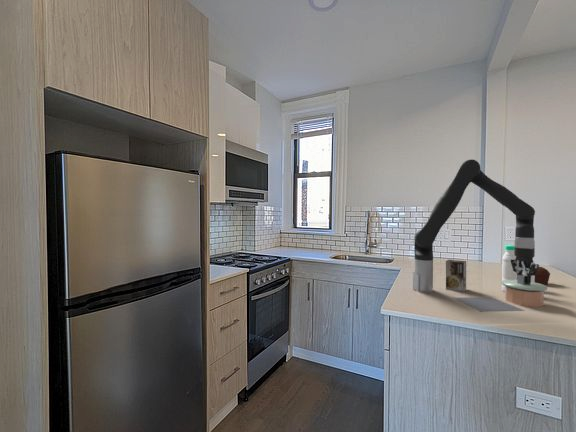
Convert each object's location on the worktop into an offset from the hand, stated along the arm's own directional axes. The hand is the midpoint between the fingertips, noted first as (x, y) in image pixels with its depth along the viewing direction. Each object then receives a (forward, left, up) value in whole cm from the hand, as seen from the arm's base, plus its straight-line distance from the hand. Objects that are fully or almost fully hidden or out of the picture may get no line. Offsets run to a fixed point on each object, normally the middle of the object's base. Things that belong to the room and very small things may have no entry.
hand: (523, 282), depth 141 cm
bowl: (0, 0, -10) cm, 10 cm away
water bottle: (+9, +19, -10) cm, 23 cm away
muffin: (+40, +35, -10) cm, 54 cm away
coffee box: (-18, +24, -10) cm, 32 cm away
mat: (-20, -2, -10) cm, 22 cm away
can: (+22, +23, -10) cm, 33 cm away
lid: (0, 0, -2) cm, 2 cm away
